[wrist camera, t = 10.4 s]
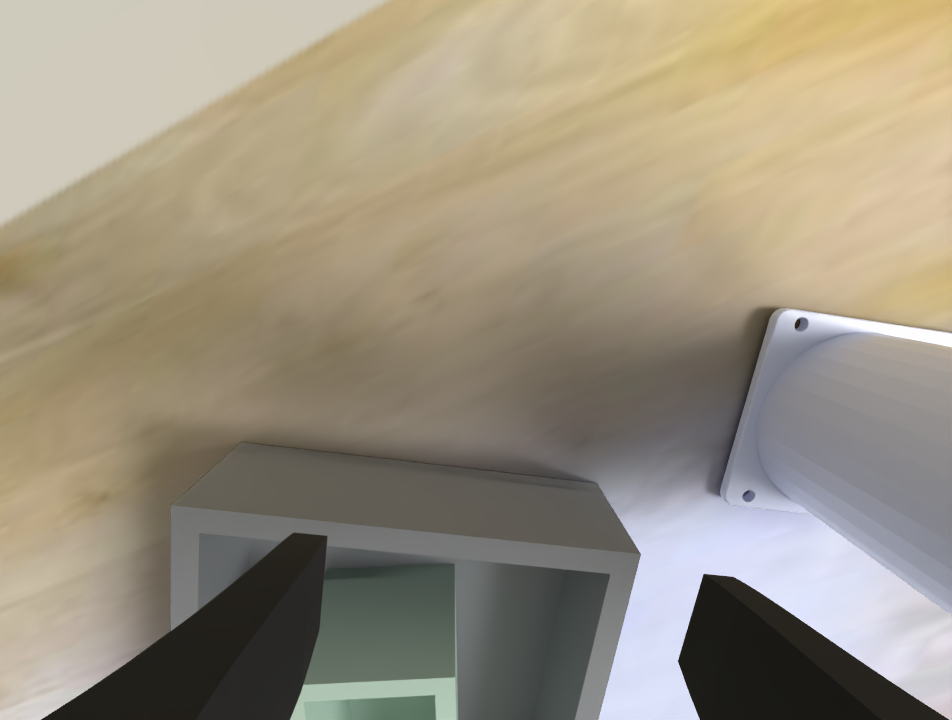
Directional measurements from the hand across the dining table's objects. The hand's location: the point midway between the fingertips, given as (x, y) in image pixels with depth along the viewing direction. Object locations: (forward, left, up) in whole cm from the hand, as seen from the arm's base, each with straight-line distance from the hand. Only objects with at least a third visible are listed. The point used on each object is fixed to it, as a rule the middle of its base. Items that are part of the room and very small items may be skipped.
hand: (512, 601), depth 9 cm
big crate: (+2, +11, -9) cm, 15 cm away
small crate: (+2, +11, -9) cm, 14 cm away
